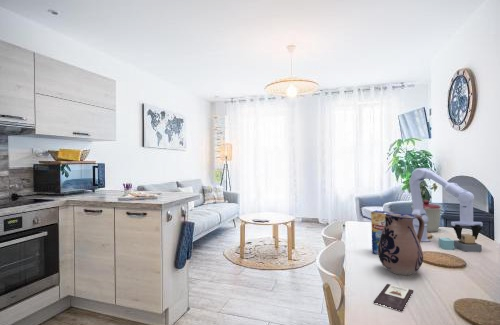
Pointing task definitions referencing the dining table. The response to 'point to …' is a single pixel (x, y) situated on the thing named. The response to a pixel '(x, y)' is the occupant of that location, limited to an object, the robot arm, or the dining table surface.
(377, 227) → the beverage box
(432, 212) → the canister
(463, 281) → the dining table surface
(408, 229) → the ceramic pitcher
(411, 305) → the dining table surface
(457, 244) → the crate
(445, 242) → the pale teal cube
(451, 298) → the dining table surface
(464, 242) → the wooden block
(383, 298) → the chocolate bar
